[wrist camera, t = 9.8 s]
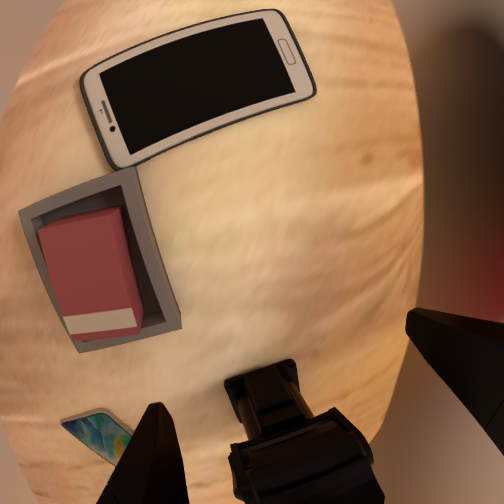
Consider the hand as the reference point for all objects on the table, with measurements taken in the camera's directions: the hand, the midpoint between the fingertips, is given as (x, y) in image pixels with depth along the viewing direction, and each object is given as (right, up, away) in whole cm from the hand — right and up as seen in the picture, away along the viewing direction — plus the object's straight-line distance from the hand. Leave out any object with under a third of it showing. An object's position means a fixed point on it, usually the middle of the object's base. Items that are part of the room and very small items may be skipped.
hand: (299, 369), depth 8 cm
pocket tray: (-11, +3, +9) cm, 15 cm away
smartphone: (-16, -18, +15) cm, 29 cm away
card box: (-11, +3, +8) cm, 14 cm away
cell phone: (-5, +15, +7) cm, 17 cm away
